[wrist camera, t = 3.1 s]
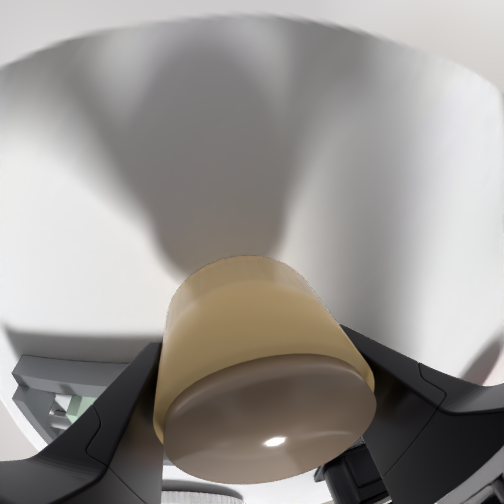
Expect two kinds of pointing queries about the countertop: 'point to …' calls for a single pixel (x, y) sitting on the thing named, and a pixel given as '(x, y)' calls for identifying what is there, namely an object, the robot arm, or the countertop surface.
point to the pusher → (71, 412)
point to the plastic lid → (196, 498)
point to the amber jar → (256, 376)
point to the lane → (59, 387)
